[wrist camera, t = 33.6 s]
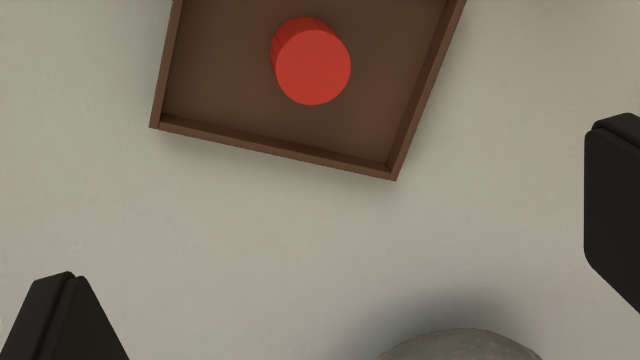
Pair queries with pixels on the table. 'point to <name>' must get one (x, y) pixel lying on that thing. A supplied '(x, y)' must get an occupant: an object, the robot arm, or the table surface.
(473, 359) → the bowl
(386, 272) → the table surface
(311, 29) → the cap
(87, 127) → the table surface
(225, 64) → the tray
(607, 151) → the robot arm
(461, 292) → the table surface
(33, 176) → the table surface
